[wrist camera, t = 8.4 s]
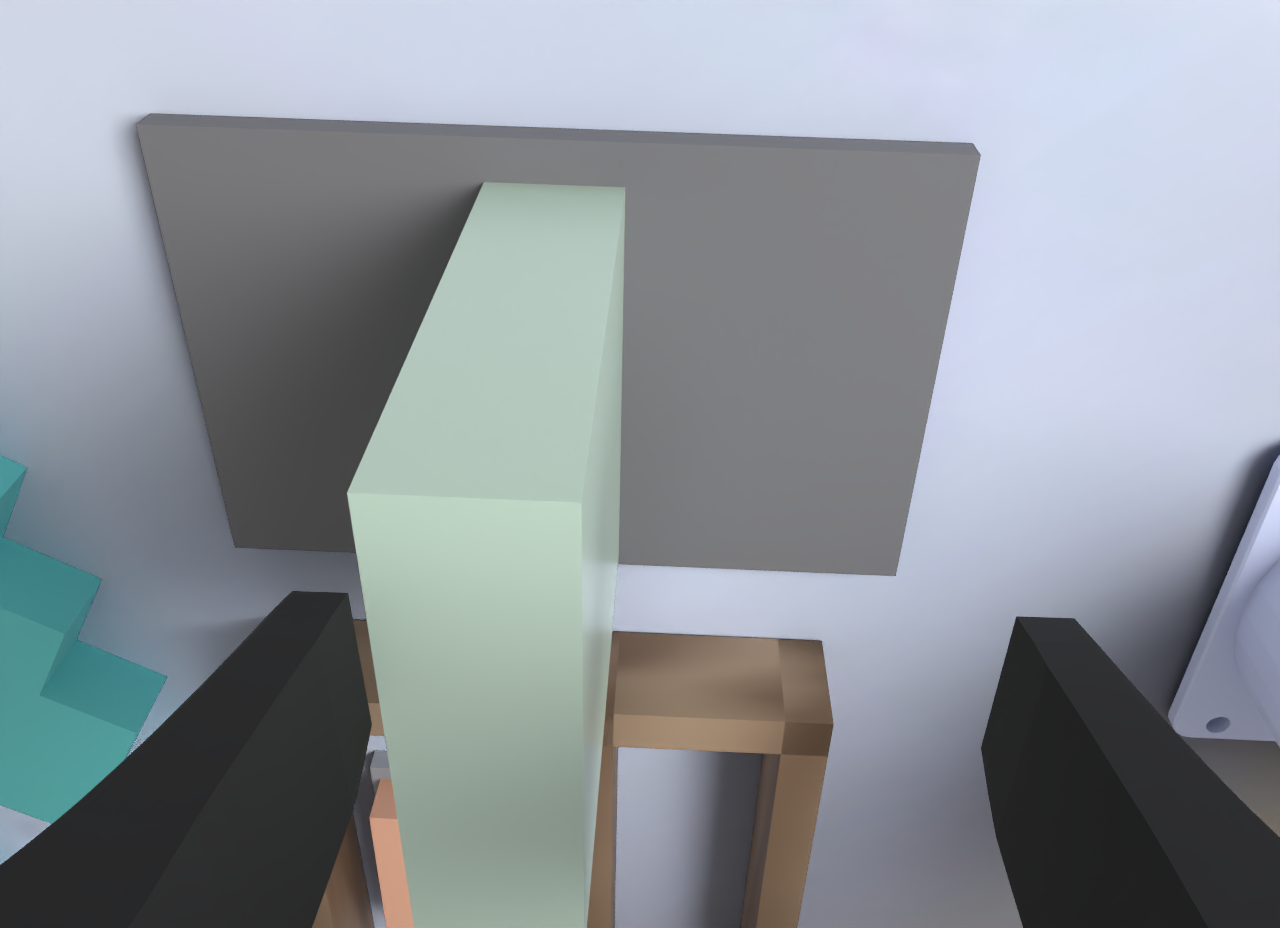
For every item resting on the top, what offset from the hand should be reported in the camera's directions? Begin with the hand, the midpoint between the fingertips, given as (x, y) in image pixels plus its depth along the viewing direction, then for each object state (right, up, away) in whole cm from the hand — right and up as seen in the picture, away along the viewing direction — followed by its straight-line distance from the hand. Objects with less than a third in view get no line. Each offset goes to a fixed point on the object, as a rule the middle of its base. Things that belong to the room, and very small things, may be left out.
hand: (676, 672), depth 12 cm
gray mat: (-2, +4, +9) cm, 10 cm away
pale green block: (-2, +4, +9) cm, 10 cm away
